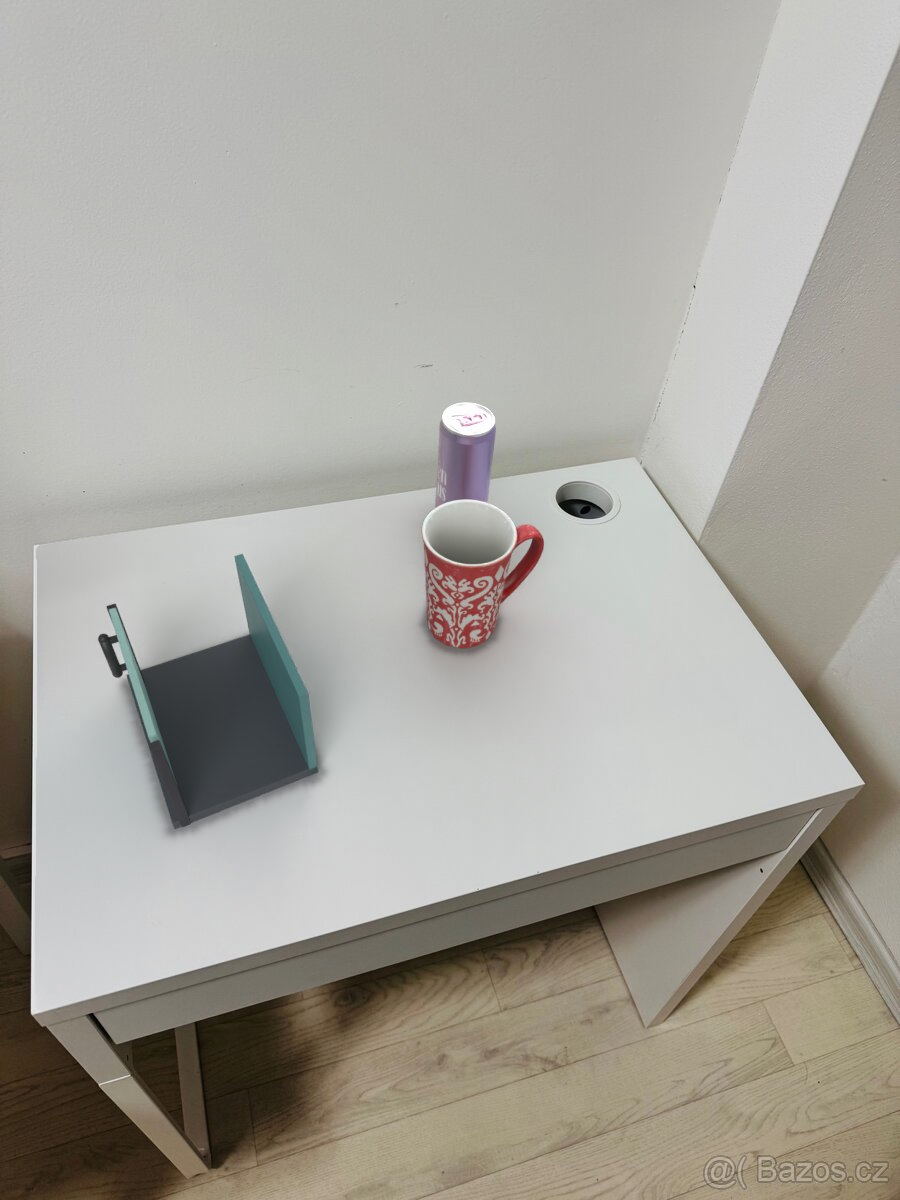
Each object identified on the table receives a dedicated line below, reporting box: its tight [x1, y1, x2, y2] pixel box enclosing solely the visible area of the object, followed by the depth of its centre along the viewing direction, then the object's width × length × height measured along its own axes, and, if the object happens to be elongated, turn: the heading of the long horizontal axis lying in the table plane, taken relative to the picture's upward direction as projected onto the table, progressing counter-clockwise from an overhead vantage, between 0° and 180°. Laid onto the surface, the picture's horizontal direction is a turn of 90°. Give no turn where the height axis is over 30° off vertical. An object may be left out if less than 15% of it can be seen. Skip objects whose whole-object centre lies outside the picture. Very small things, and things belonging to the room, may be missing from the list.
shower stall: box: [126, 553, 319, 830], centre depth 74 cm, size 13×17×12 cm
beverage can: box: [434, 402, 497, 509], centre depth 93 cm, size 6×6×15 cm
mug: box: [421, 500, 545, 649], centre depth 84 cm, size 13×9×14 cm
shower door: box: [97, 603, 178, 787], centre depth 71 cm, size 2×14×11 cm, turn 27°
